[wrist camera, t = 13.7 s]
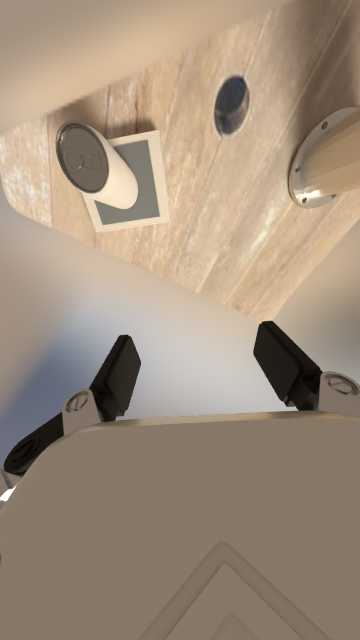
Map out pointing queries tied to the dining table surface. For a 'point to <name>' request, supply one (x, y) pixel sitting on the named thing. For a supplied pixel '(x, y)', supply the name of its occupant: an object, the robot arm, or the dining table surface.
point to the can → (95, 166)
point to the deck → (152, 187)
